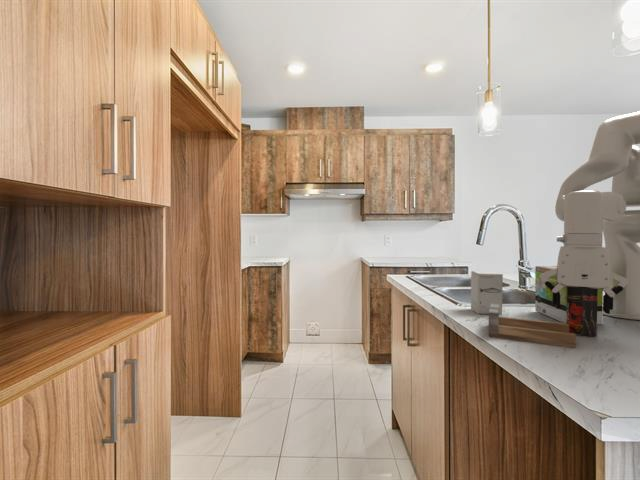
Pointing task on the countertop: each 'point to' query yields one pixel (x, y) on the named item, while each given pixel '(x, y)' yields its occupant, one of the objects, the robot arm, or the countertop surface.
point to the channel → (529, 330)
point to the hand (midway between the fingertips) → (581, 310)
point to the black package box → (582, 310)
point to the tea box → (545, 297)
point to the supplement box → (486, 291)
